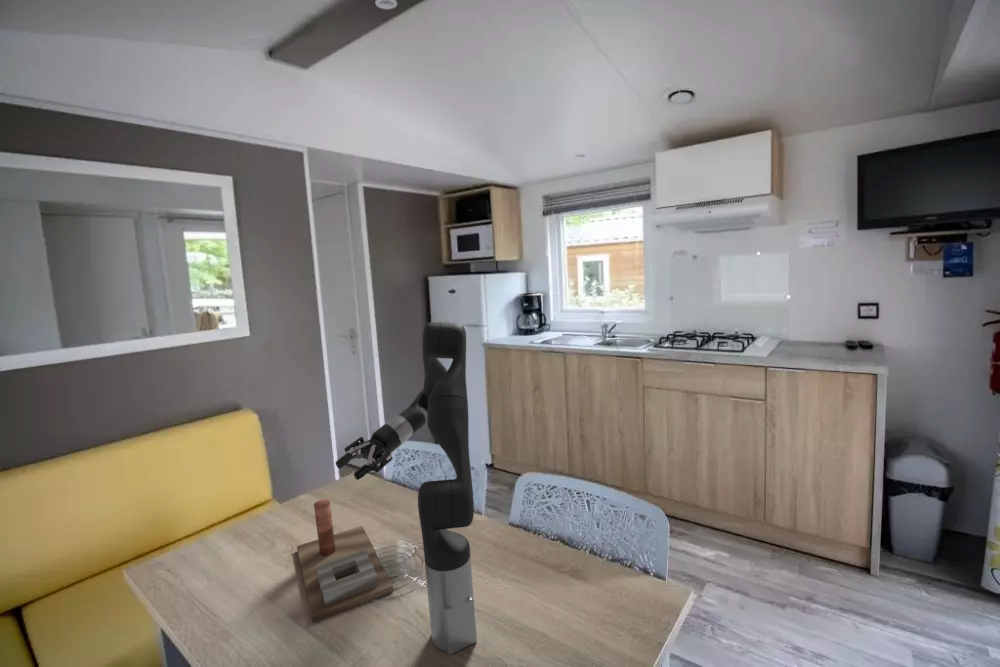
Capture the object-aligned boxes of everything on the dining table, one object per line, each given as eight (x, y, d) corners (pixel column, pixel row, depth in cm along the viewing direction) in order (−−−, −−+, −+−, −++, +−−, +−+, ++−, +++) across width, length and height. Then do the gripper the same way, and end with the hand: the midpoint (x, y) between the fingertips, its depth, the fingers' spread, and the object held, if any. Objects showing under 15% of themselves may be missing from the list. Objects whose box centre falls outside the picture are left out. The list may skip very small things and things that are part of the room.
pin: (336, 552, 126) (331, 503, 124) (321, 557, 124) (315, 508, 123) (334, 545, 130) (328, 497, 128) (318, 550, 128) (312, 502, 126)
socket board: (393, 591, 112) (391, 574, 111) (313, 622, 103) (310, 603, 102) (362, 530, 139) (361, 516, 139) (297, 551, 131) (295, 536, 130)
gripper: (373, 417, 137) (326, 452, 126) (405, 431, 128) (356, 470, 118) (381, 437, 140) (336, 472, 130) (412, 452, 131) (366, 491, 121)
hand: (346, 471), depth 124 cm, fingers open, 8 cm apart
